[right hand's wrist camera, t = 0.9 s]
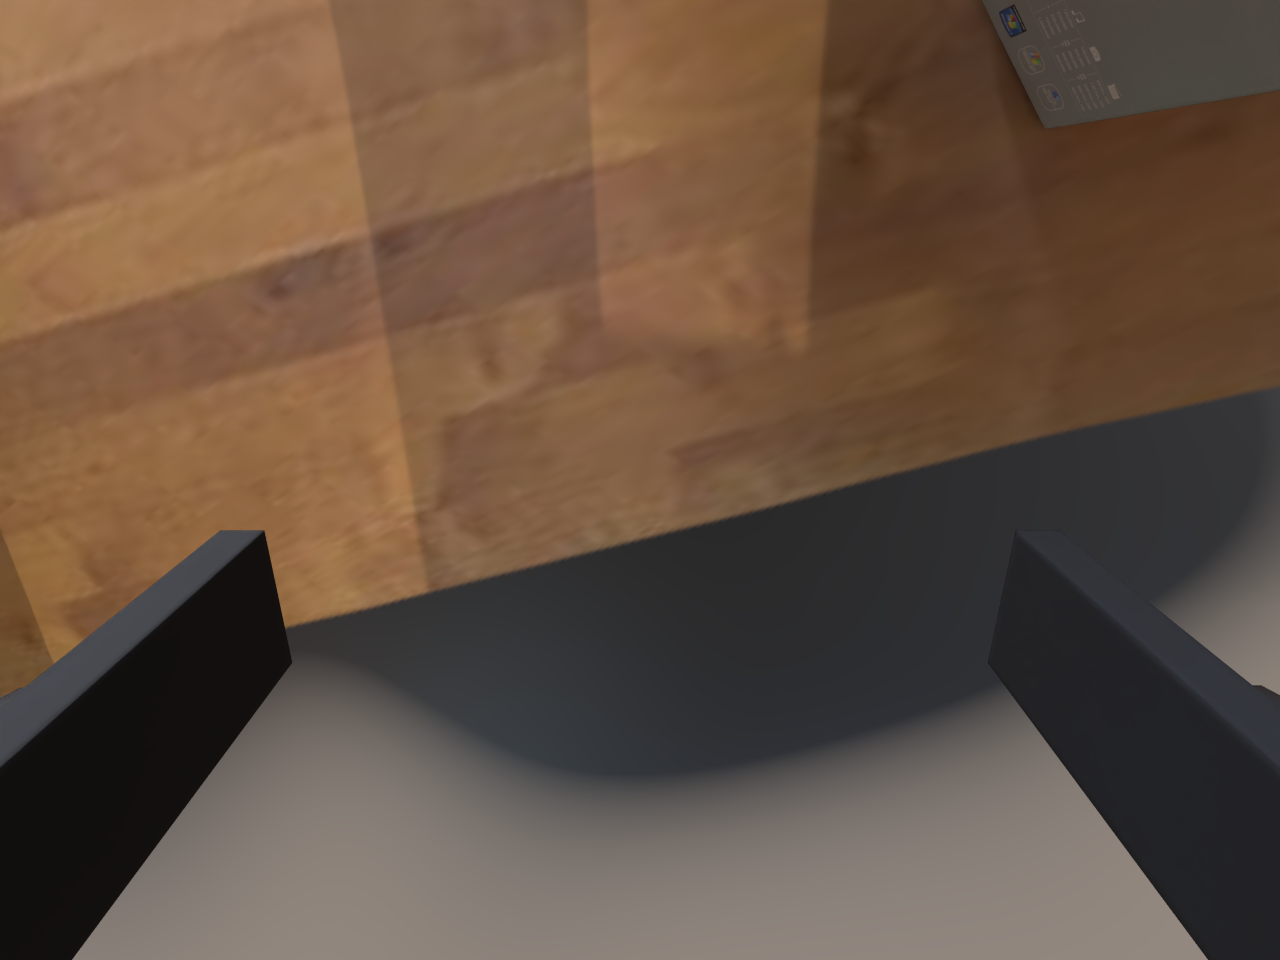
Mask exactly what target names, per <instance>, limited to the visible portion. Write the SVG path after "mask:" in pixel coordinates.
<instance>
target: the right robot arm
mask: <svg viewBox="0 0 1280 960" xmlns="http://www.w3.org/2000/svg"><path fill="white" fill-rule="evenodd" d="M291 664H292V659H291V655H290V650H289V645H288V641H287V636H286V631H285V626H284V621H283V617H282V612H281V607H280V603H279V598H278V593H277V588H276V584H275V579H274V574H273V569H272V565H271V560H270V555H269V550H268V546H267V541H266V536H265V531H219V532H218V533H217V534H215V535H214V536H213V537H212V538H211V539H209V540H208V541H207V542H206V543H204V544H203V545H202V546H201V547H199V548H198V549H197V550H196V551H194V552H193V553H192V554H191V555H189V556H188V557H187V558H186V559H184V560H183V561H182V562H181V563H179V564H178V565H177V566H176V567H174V568H173V569H172V570H171V571H169V572H168V573H167V574H166V575H164V576H163V577H162V578H161V579H159V580H158V581H157V582H156V583H154V584H153V585H152V586H151V587H149V588H148V589H147V590H146V591H145V592H143V593H142V594H141V595H140V596H138V597H137V598H136V599H135V600H133V601H132V602H131V603H130V604H128V605H127V606H126V607H125V608H123V609H122V610H121V611H120V612H118V613H117V614H116V615H115V616H113V617H112V618H111V619H110V620H108V621H107V622H106V623H105V624H103V625H102V626H101V627H100V628H98V629H97V630H96V631H95V632H93V633H92V634H91V635H90V636H88V637H87V638H86V639H85V640H84V641H82V642H81V643H80V644H79V645H77V646H76V647H75V648H74V649H72V650H71V651H70V652H69V653H67V654H66V655H65V656H64V657H62V658H61V659H60V660H59V661H57V662H56V663H55V664H54V665H52V666H51V667H50V668H49V669H47V670H46V671H45V672H44V673H42V674H41V675H40V676H39V677H37V678H36V679H35V680H34V681H32V682H31V683H30V684H29V685H27V686H26V687H25V688H19V689H17V690H15V691H13V692H11V693H9V694H8V695H6V696H4V697H2V698H0V960H72V959H73V957H74V956H75V955H76V953H77V952H78V951H79V949H80V948H81V947H82V945H83V944H84V943H85V941H86V940H87V939H88V937H89V936H90V935H91V933H92V932H93V931H94V929H95V928H96V927H97V925H98V924H99V922H100V921H101V920H102V918H103V917H104V916H105V914H106V913H107V912H108V910H109V909H110V908H111V906H112V905H113V904H114V902H115V901H116V900H117V898H118V897H119V896H120V894H121V893H122V891H123V890H124V889H125V887H126V886H127V885H128V883H129V882H130V881H131V879H132V878H133V877H134V875H135V874H136V872H137V871H138V870H139V869H140V867H141V866H142V865H143V863H144V862H145V860H146V859H147V858H148V856H149V855H150V854H151V852H152V851H153V850H154V848H155V847H156V846H157V844H158V843H159V842H160V840H161V839H162V837H163V836H164V835H165V833H166V832H167V831H168V829H169V828H170V827H171V825H172V824H173V823H174V821H175V820H176V819H177V817H178V816H179V815H180V813H181V812H182V810H183V809H184V808H185V807H186V805H187V804H188V802H189V801H190V800H191V798H192V797H193V796H194V794H195V793H196V792H197V790H198V789H199V788H200V786H201V785H202V784H203V782H204V781H205V780H206V778H207V777H208V775H209V774H210V773H211V771H212V770H213V769H214V767H215V766H216V765H217V763H218V762H219V761H220V759H221V758H222V757H223V755H224V754H225V752H226V751H227V750H228V749H229V747H230V746H231V744H232V743H233V742H234V740H235V739H236V738H237V736H238V735H239V734H240V732H241V731H242V730H243V728H244V727H245V726H246V724H247V723H248V722H249V720H250V719H251V718H252V716H253V715H254V713H255V712H256V711H257V709H258V708H259V707H260V705H261V704H262V703H263V701H264V700H265V699H266V697H267V696H268V695H269V693H270V692H271V691H272V689H273V688H274V686H275V685H276V684H277V682H278V681H279V680H280V678H281V677H282V676H283V674H284V673H285V672H286V670H287V669H288V668H289V666H290V665H291ZM988 664H989V665H990V666H991V668H992V669H993V670H994V672H995V673H996V674H997V676H998V677H999V678H1000V680H1001V681H1002V682H1003V684H1004V685H1005V686H1006V688H1007V689H1008V691H1009V692H1010V693H1011V695H1012V696H1013V697H1014V699H1015V700H1016V701H1017V703H1018V704H1019V705H1020V707H1021V708H1022V709H1023V711H1024V712H1025V713H1026V715H1027V716H1028V718H1029V719H1030V720H1031V722H1032V723H1033V724H1034V725H1035V727H1036V728H1037V730H1038V731H1039V732H1040V734H1041V735H1042V736H1043V738H1044V739H1045V740H1046V742H1047V743H1048V744H1049V746H1050V747H1051V748H1052V750H1053V751H1054V753H1055V754H1056V755H1057V757H1058V758H1059V759H1060V761H1061V762H1062V763H1063V765H1064V766H1065V767H1066V769H1067V770H1068V771H1069V773H1070V774H1071V775H1072V777H1073V778H1074V779H1075V781H1076V782H1077V784H1078V785H1079V786H1080V788H1081V789H1082V790H1083V792H1084V793H1085V794H1086V796H1087V797H1088V798H1089V800H1090V801H1091V802H1092V804H1093V805H1094V806H1095V808H1096V809H1097V811H1098V812H1099V813H1100V815H1101V816H1102V817H1103V819H1104V820H1105V821H1106V823H1107V824H1108V825H1109V827H1110V828H1111V829H1112V831H1113V832H1114V833H1115V835H1116V836H1117V838H1118V839H1119V840H1120V842H1121V843H1122V844H1123V846H1124V847H1125V848H1126V850H1127V851H1128V852H1129V854H1130V855H1131V856H1132V858H1133V859H1134V860H1135V862H1136V863H1137V864H1138V866H1139V867H1140V869H1141V870H1142V871H1143V873H1144V874H1145V875H1146V877H1147V878H1148V879H1149V881H1150V882H1151V883H1152V885H1153V886H1154V887H1155V889H1156V890H1157V891H1158V893H1159V894H1160V895H1161V897H1162V898H1163V900H1164V901H1165V902H1166V904H1167V905H1168V906H1169V908H1170V909H1171V910H1172V912H1173V913H1174V914H1175V916H1176V917H1177V918H1178V920H1179V921H1180V922H1181V924H1182V925H1183V927H1184V928H1185V929H1186V931H1187V932H1188V933H1189V935H1190V936H1191V937H1192V939H1193V940H1194V941H1195V943H1196V944H1197V945H1198V947H1199V948H1200V949H1201V951H1202V952H1203V954H1204V955H1205V956H1206V958H1207V959H1208V960H1280V695H1278V694H1276V693H1274V692H1273V691H1271V690H1269V689H1267V688H1265V687H1263V686H1261V685H1251V684H1250V683H1249V682H1248V681H1246V680H1245V679H1244V678H1243V677H1241V676H1240V675H1239V674H1238V673H1236V672H1235V671H1234V670H1232V669H1231V668H1230V667H1229V666H1228V665H1226V664H1225V663H1224V662H1223V661H1221V660H1220V659H1219V658H1218V657H1216V656H1215V655H1214V654H1213V653H1211V652H1210V651H1209V650H1208V649H1206V648H1205V647H1204V646H1203V645H1201V644H1200V643H1199V642H1198V641H1196V640H1195V639H1194V638H1193V637H1192V636H1190V635H1189V634H1188V633H1186V632H1185V631H1184V630H1183V629H1182V628H1180V627H1179V626H1178V625H1177V624H1175V623H1174V622H1173V621H1172V620H1170V619H1169V618H1168V617H1167V616H1165V615H1164V614H1163V613H1162V612H1160V611H1159V610H1158V609H1157V608H1155V607H1154V606H1153V605H1152V604H1150V603H1149V602H1148V601H1147V600H1145V599H1144V598H1143V597H1142V596H1140V595H1139V594H1138V593H1137V592H1135V591H1134V590H1133V589H1132V588H1130V587H1129V586H1128V585H1127V584H1125V583H1124V582H1123V581H1122V580H1121V579H1119V578H1118V577H1117V576H1116V575H1114V574H1113V573H1112V572H1111V571H1109V570H1108V569H1107V568H1106V567H1104V566H1103V565H1102V564H1101V563H1099V562H1098V561H1097V560H1096V559H1094V558H1093V557H1092V556H1091V555H1089V554H1088V553H1087V552H1086V551H1084V550H1083V549H1082V548H1081V547H1079V546H1078V545H1077V544H1076V543H1074V542H1073V541H1072V540H1071V539H1069V538H1068V537H1067V536H1066V535H1065V534H1063V533H1062V532H1061V531H1016V532H1015V536H1014V541H1013V546H1012V550H1011V555H1010V560H1009V565H1008V569H1007V574H1006V579H1005V584H1004V589H1003V593H1002V598H1001V603H1000V607H999V612H998V617H997V622H996V626H995V631H994V636H993V640H992V645H991V650H990V655H989V659H988Z"/></svg>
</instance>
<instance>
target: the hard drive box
mask: <svg viewBox="0 0 1280 960" xmlns="http://www.w3.org/2000/svg"><path fill="white" fill-rule="evenodd" d="M982 2H983V4H984V6H985V8H986V10H987V12H988V14H989V17H990V19H991V21H992V23H993V25H994V27H995V29H996V31H997V33H998V35H999V37H1000V39H1001V41H1002V43H1003V45H1004V47H1005V49H1006V52H1007V54H1008V56H1009V57H1010V59H1011V61H1012V63H1013V65H1014V67H1015V69H1016V72H1017V74H1018V76H1019V78H1020V80H1021V82H1022V84H1023V86H1024V88H1025V90H1026V92H1027V94H1028V96H1029V98H1030V100H1031V102H1032V104H1033V106H1034V108H1035V110H1036V112H1037V114H1038V116H1039V118H1040V120H1041V122H1042V124H1043V126H1044V127H1045V128H1047V129H1050V128H1055V127H1062V126H1069V125H1075V124H1081V123H1087V122H1093V121H1099V120H1105V119H1112V118H1118V117H1124V116H1129V115H1135V114H1141V113H1147V112H1153V111H1159V110H1165V109H1171V108H1177V107H1183V106H1189V105H1195V104H1201V103H1207V102H1212V101H1218V100H1224V99H1230V98H1236V97H1242V96H1248V95H1254V94H1260V93H1266V92H1272V91H1278V90H1280V0H982Z"/></svg>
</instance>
